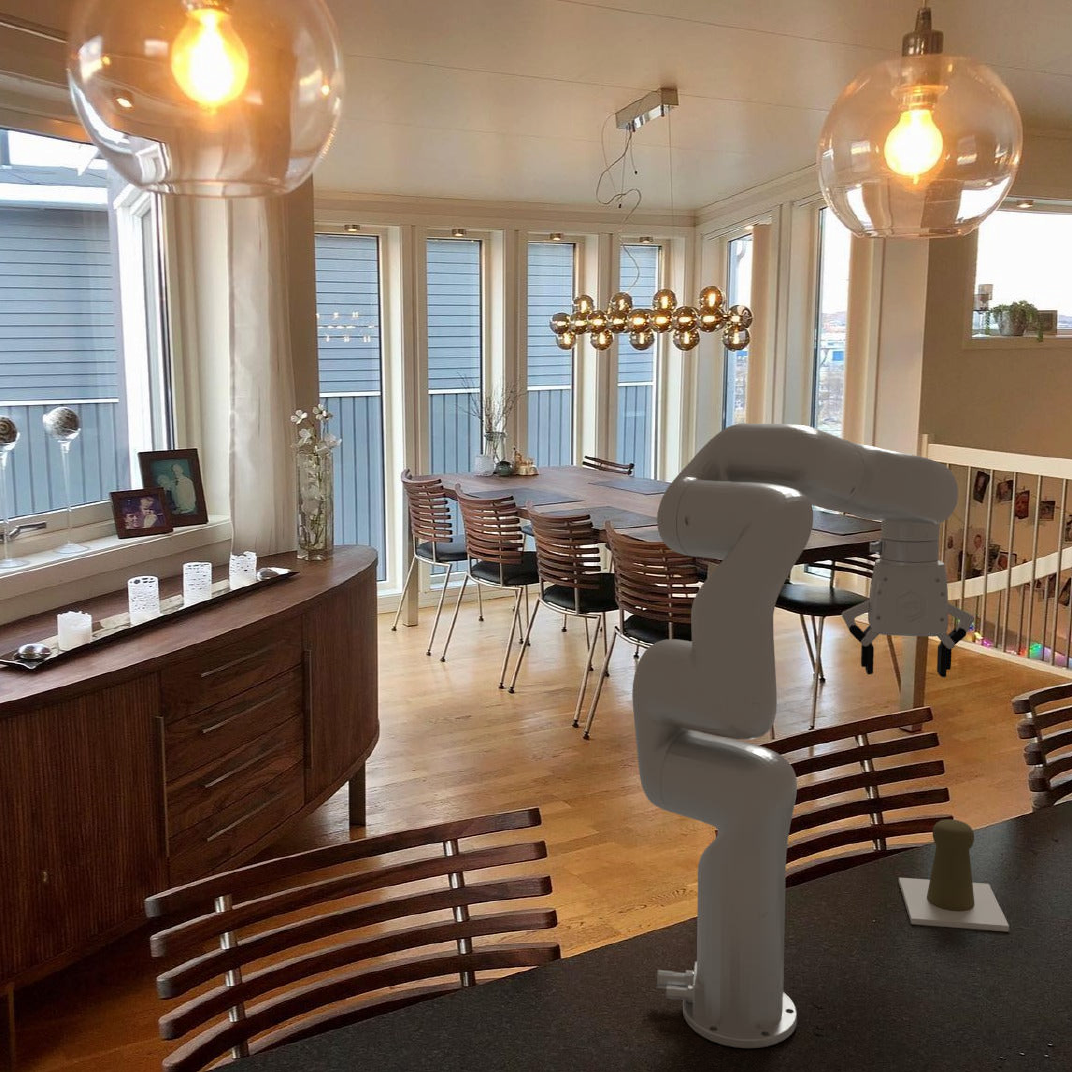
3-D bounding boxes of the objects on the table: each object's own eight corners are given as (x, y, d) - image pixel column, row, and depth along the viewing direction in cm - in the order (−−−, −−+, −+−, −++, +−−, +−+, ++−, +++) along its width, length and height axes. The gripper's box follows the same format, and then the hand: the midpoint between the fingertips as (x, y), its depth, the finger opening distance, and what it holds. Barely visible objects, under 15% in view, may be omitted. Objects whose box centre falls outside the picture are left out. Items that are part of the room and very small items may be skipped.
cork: (981, 911, 143) (985, 832, 142) (935, 911, 143) (938, 832, 142) (964, 890, 149) (968, 814, 148) (920, 890, 149) (923, 814, 148)
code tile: (911, 924, 142) (911, 918, 142) (898, 882, 153) (898, 877, 153) (1008, 931, 139) (1009, 925, 139) (988, 889, 151) (988, 883, 151)
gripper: (846, 554, 146) (842, 678, 148) (982, 557, 142) (976, 683, 145) (841, 546, 153) (838, 664, 155) (970, 548, 150) (965, 668, 152)
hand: (905, 673), depth 150 cm, fingers open, 9 cm apart
